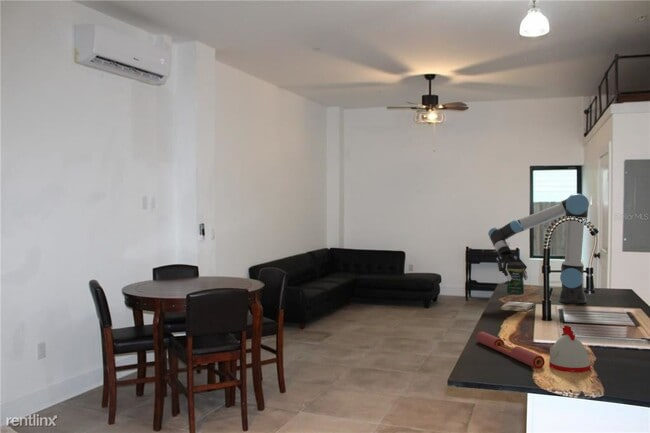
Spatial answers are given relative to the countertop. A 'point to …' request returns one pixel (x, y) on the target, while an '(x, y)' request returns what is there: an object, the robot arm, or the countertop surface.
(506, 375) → the countertop surface
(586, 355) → the grey hat
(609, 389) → the countertop surface
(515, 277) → the coffee jar
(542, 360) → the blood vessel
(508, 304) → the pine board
